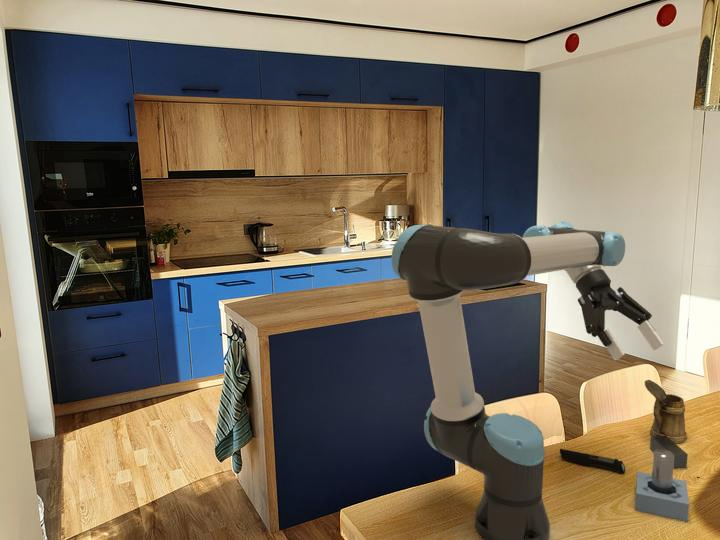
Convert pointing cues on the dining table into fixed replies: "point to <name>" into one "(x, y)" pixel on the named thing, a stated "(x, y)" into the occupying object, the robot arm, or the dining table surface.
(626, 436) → the dining table surface
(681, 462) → the square bar
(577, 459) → the electric trimmer
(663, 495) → the bore block
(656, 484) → the ball
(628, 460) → the dining table surface
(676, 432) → the wooden mug
